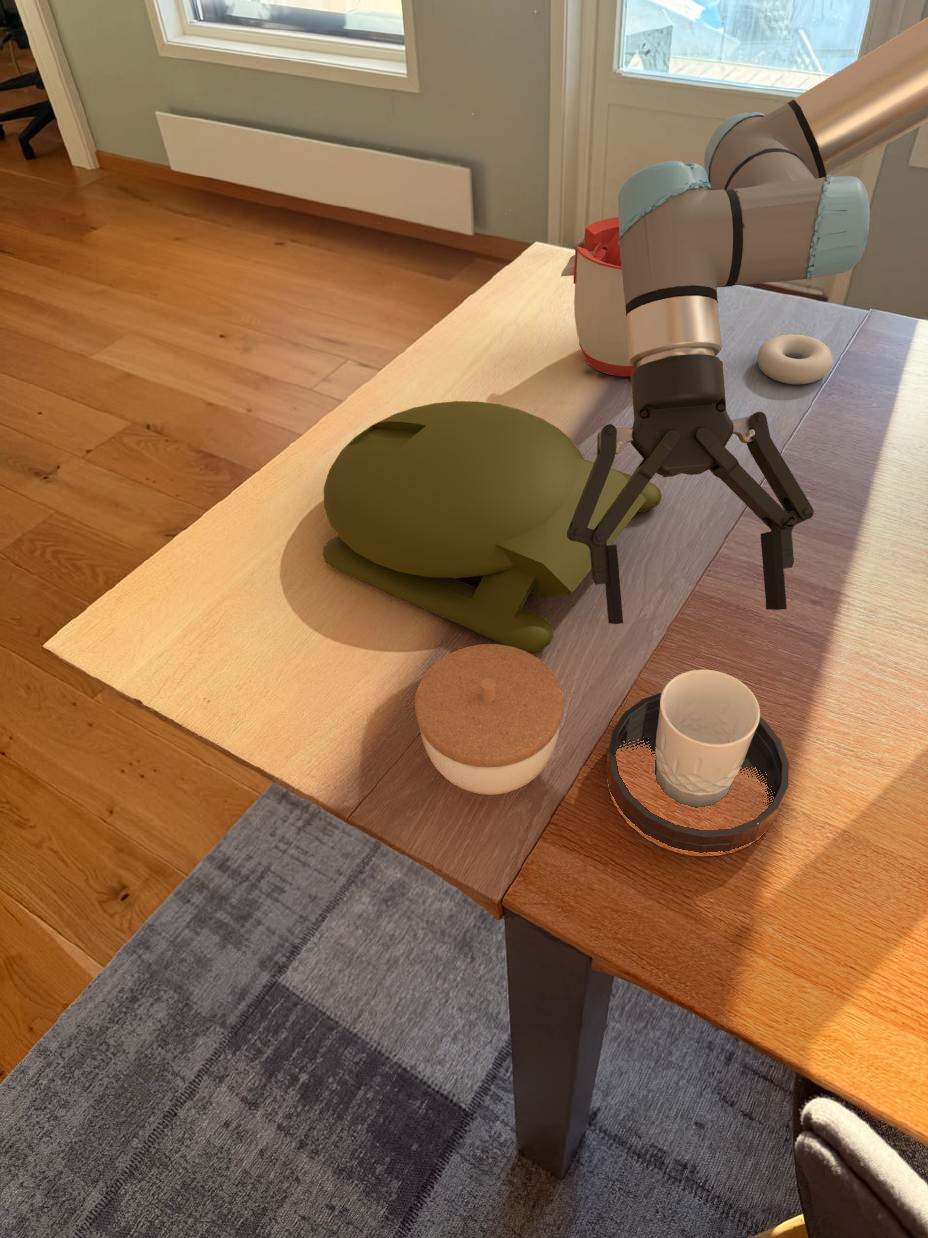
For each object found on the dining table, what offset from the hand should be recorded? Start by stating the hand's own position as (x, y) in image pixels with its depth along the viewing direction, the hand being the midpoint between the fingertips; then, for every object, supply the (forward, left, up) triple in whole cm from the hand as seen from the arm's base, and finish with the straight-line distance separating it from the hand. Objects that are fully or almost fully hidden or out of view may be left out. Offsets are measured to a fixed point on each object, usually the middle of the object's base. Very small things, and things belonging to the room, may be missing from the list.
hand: (696, 616), depth 76 cm
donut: (-9, -64, -14) cm, 66 cm away
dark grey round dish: (-2, +7, -14) cm, 15 cm away
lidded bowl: (+16, +9, -14) cm, 23 cm away
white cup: (-2, +7, -13) cm, 15 cm away
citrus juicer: (+15, -63, -14) cm, 66 cm away
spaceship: (+26, -23, -14) cm, 37 cm away
